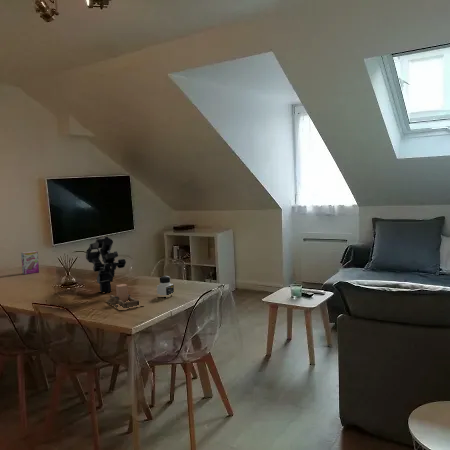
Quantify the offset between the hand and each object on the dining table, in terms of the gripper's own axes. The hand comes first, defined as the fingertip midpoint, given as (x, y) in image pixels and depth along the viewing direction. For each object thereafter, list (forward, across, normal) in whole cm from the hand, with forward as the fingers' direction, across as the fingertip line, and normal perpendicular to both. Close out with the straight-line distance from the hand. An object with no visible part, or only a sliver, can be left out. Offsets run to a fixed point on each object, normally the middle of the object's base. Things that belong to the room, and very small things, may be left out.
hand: (113, 276), depth 268 cm
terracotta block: (+18, 0, -1) cm, 18 cm away
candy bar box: (-71, -28, +89) cm, 117 cm away
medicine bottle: (+21, +25, -3) cm, 33 cm away
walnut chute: (+21, 0, -3) cm, 21 cm away
